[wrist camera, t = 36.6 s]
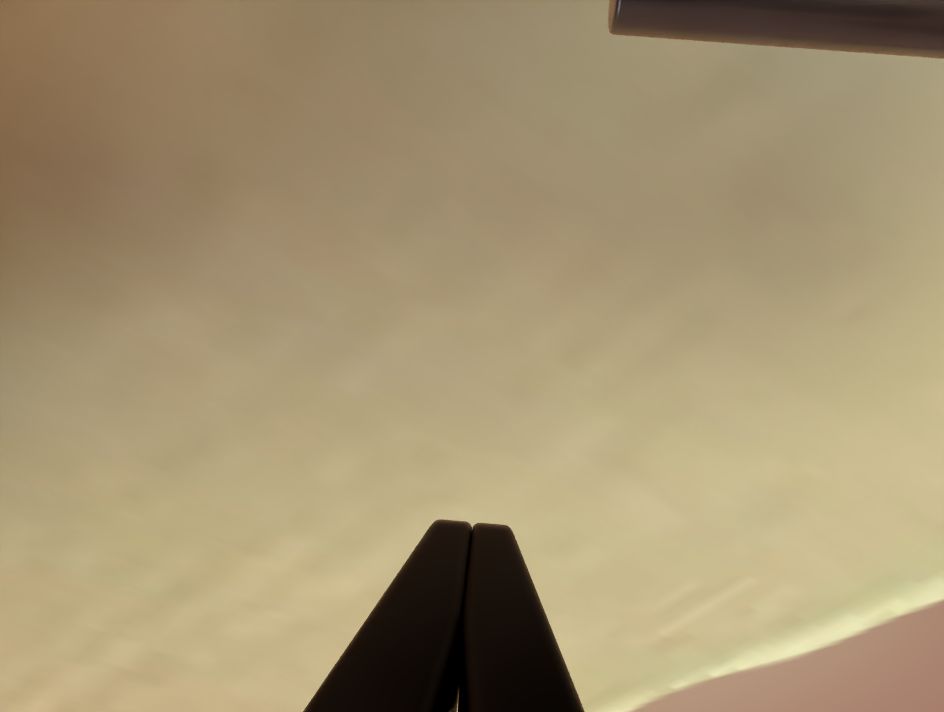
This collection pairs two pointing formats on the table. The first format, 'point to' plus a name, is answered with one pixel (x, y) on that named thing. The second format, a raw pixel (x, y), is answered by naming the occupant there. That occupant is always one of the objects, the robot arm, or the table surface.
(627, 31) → the drawer
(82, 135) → the table surface
